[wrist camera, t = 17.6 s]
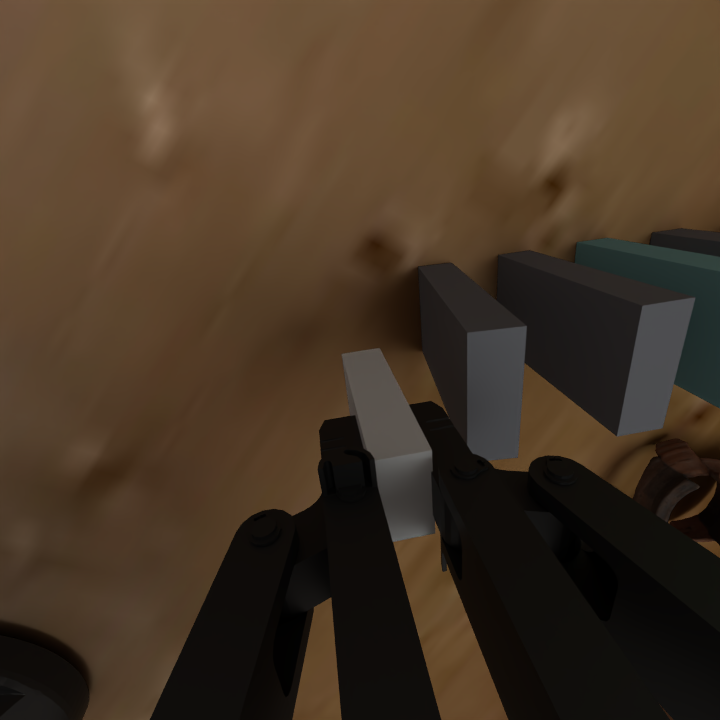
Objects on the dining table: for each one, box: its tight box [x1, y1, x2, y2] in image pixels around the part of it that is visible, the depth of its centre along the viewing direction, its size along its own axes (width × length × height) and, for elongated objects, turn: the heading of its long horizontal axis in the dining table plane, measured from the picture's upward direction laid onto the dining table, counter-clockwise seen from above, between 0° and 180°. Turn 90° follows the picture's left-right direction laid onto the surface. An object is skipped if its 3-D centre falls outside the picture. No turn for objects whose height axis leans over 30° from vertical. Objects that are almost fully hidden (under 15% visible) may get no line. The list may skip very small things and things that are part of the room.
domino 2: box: [497, 250, 695, 436], centre depth 18 cm, size 2×5×10 cm, turn 7°
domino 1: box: [418, 263, 527, 461], centre depth 17 cm, size 2×5×10 cm, turn 6°
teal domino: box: [575, 238, 720, 408], centre depth 18 cm, size 2×5×10 cm, turn 6°
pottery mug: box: [633, 439, 720, 545], centre depth 28 cm, size 12×9×8 cm
